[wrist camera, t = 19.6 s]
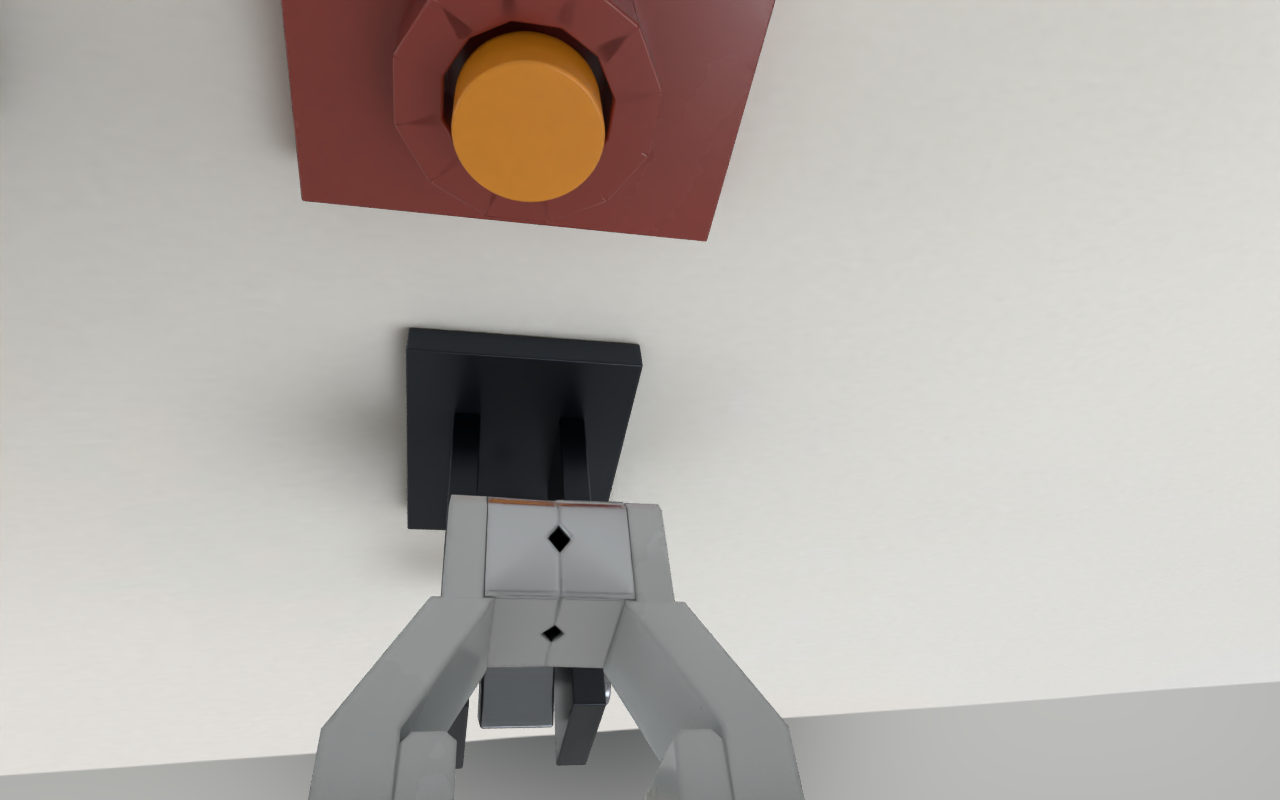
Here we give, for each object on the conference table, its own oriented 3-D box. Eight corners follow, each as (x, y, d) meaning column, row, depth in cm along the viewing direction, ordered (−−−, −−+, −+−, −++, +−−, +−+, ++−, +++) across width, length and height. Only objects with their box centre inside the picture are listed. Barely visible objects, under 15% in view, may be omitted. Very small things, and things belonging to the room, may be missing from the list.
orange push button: (452, 159, 22) (448, 195, 21) (457, 19, 20) (453, 50, 18) (589, 174, 23) (593, 210, 21) (610, 41, 20) (616, 72, 19)
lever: (558, 637, 39) (557, 692, 38) (436, 637, 38) (432, 693, 37) (608, 645, 27) (606, 726, 26) (428, 645, 26) (423, 730, 25)
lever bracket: (598, 513, 39) (622, 799, 30) (409, 507, 38) (376, 808, 29) (640, 344, 32) (687, 652, 23) (409, 327, 30) (363, 653, 21)
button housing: (314, 162, 26) (289, 237, 23) (283, -190, 19) (243, -146, 17) (696, 204, 28) (716, 276, 25) (776, -97, 22) (814, -45, 19)
